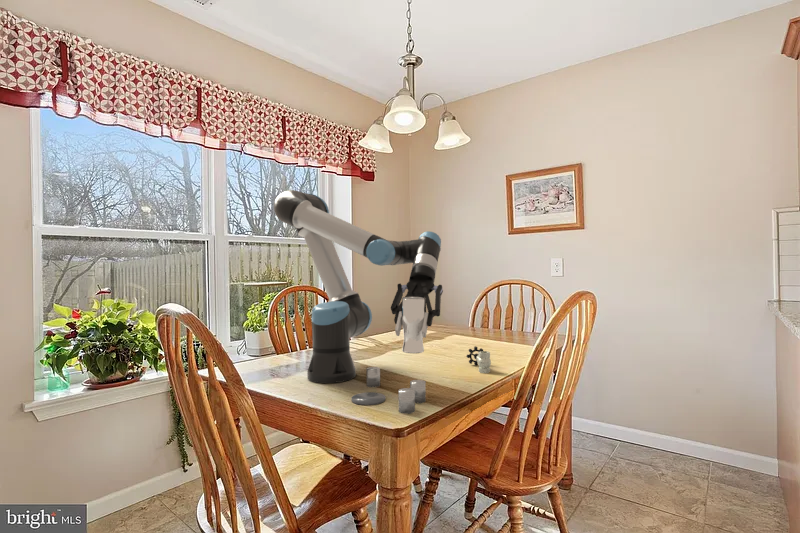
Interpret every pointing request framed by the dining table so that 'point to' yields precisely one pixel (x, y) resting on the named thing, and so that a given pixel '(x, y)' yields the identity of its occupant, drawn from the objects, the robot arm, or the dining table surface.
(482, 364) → the valve
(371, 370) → the spacer
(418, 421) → the dining table surface
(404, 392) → the cylinder
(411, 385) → the cylinder
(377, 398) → the coaster
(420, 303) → the beer glass
